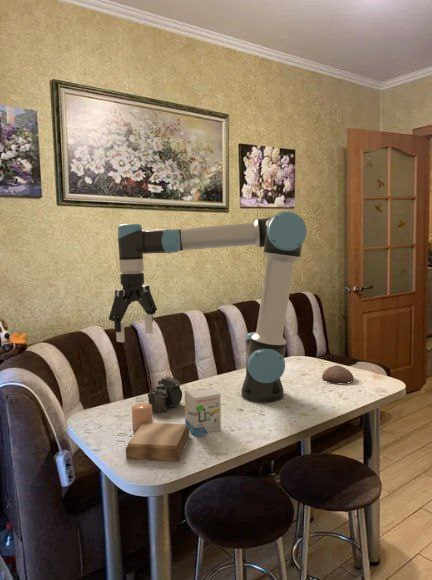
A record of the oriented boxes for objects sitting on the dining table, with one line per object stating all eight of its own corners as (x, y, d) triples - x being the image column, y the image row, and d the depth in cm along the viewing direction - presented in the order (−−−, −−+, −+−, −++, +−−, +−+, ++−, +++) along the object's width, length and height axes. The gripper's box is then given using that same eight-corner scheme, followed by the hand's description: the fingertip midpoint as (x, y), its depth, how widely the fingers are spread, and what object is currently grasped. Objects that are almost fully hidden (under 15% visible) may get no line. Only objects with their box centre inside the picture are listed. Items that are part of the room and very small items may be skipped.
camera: (175, 415, 141) (174, 385, 140) (146, 413, 143) (145, 383, 142) (186, 400, 154) (185, 372, 153) (159, 398, 156) (158, 371, 155)
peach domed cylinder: (155, 424, 134) (154, 403, 133) (149, 433, 128) (148, 410, 127) (136, 424, 135) (135, 402, 134) (130, 433, 129) (128, 410, 128)
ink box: (194, 437, 126) (193, 398, 124) (184, 425, 133) (183, 388, 132) (221, 431, 129) (221, 393, 128) (210, 420, 137) (209, 384, 135)
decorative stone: (327, 373, 181) (327, 361, 181) (356, 378, 175) (356, 364, 175) (317, 382, 171) (318, 368, 171) (348, 386, 165) (349, 372, 165)
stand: (189, 436, 126) (188, 423, 125) (178, 461, 112) (178, 446, 111) (142, 434, 127) (141, 421, 127) (126, 458, 114) (125, 444, 113)
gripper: (148, 269, 153) (151, 329, 155) (94, 275, 132) (98, 344, 134) (165, 269, 149) (168, 330, 151) (112, 276, 128) (116, 347, 130)
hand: (135, 337), depth 143 cm, fingers open, 13 cm apart
